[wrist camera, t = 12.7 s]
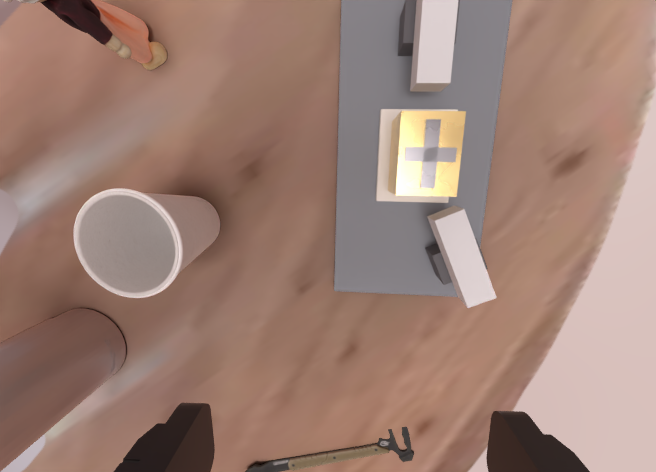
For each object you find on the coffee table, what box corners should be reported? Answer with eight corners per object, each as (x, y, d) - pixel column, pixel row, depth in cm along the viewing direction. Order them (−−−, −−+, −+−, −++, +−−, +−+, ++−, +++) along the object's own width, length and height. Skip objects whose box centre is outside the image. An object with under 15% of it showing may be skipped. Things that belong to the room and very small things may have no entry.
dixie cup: (203, 275, 33) (141, 320, 23) (141, 226, 32) (51, 250, 23) (248, 219, 31) (202, 241, 22) (184, 165, 31) (107, 163, 21)
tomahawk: (402, 403, 36) (404, 409, 35) (413, 452, 37) (415, 460, 36) (236, 431, 38) (233, 438, 37) (250, 477, 39) (247, 485, 38)
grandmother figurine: (183, 46, 28) (54, -49, 16) (167, 85, 29) (32, 22, 17) (110, 1, 28) (-81, -133, 16) (96, 41, 29) (-95, -56, 16)
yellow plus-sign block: (392, 121, 26) (402, 110, 21) (444, 122, 26) (467, 110, 21) (387, 190, 28) (396, 195, 23) (437, 192, 27) (457, 197, 22)
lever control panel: (469, 293, 31) (498, 323, 25) (334, 287, 32) (331, 314, 26) (507, -6, 26) (556, -60, 20) (342, -3, 26) (339, -54, 20)
